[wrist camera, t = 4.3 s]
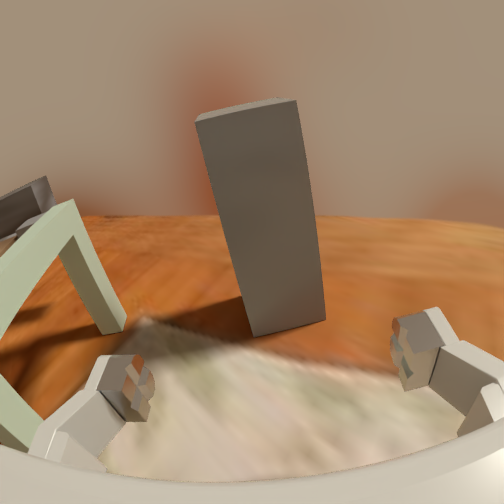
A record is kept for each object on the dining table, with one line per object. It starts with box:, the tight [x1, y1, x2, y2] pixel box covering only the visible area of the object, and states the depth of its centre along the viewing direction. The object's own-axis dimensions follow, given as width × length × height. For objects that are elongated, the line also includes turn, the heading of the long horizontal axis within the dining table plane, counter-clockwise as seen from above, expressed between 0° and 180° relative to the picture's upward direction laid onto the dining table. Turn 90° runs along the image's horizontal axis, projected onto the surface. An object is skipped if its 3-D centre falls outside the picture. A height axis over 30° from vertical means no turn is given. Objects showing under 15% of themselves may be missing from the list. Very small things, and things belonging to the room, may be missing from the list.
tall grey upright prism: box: [195, 98, 326, 337], centre depth 20 cm, size 5×5×14 cm
